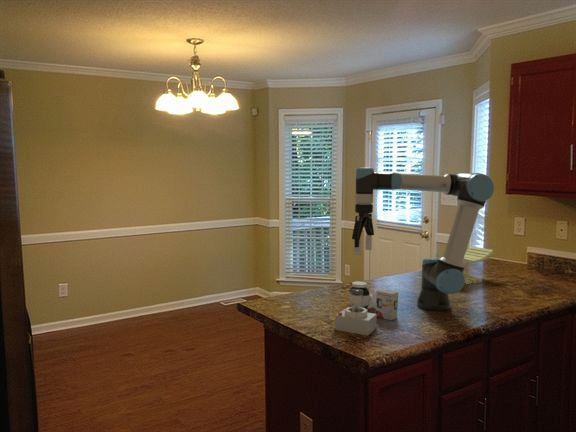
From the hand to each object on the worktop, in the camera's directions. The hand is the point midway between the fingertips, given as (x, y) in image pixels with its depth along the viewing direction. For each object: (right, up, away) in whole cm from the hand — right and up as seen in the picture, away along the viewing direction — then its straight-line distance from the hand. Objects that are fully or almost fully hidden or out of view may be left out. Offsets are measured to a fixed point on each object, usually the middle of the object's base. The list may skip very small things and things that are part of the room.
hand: (363, 252), depth 213 cm
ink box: (+11, -29, +2) cm, 31 cm away
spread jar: (+3, -27, +16) cm, 32 cm away
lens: (-5, -24, -14) cm, 29 cm away
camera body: (-5, -30, -14) cm, 33 cm away
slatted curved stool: (+69, -22, +72) cm, 102 cm away
